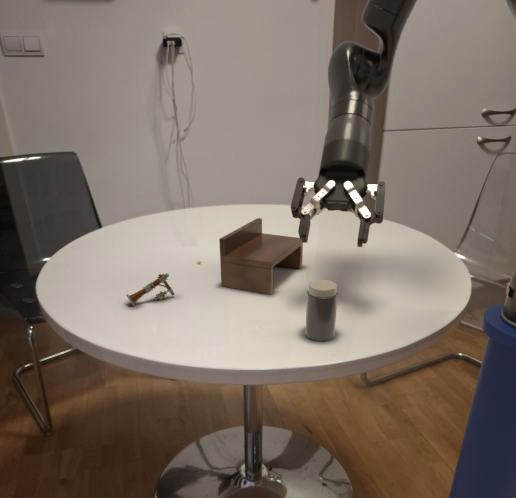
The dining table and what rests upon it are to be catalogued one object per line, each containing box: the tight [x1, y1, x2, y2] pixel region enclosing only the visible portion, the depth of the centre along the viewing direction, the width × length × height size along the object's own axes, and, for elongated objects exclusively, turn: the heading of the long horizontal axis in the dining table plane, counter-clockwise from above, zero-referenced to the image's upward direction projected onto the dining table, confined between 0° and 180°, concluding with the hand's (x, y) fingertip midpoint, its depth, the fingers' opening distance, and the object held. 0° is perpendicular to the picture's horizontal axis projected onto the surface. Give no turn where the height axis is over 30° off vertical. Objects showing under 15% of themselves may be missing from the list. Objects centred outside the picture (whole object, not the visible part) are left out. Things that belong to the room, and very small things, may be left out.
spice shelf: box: [218, 217, 304, 296], centre depth 94 cm, size 10×16×9 cm, turn 155°
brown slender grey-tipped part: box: [125, 272, 175, 307], centre depth 85 cm, size 2×8×4 cm, turn 117°
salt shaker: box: [304, 279, 339, 342], centre depth 72 cm, size 4×4×8 cm
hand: (331, 242), depth 75 cm, fingers open, 8 cm apart
